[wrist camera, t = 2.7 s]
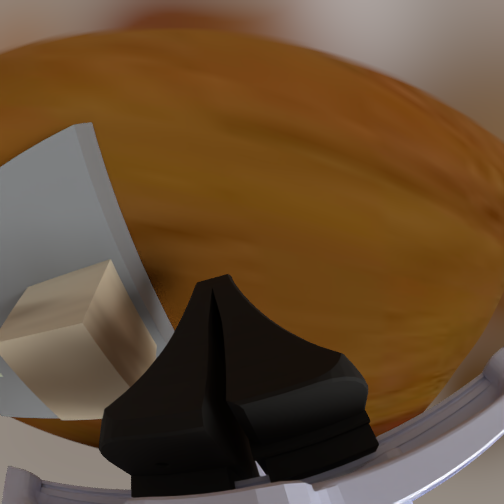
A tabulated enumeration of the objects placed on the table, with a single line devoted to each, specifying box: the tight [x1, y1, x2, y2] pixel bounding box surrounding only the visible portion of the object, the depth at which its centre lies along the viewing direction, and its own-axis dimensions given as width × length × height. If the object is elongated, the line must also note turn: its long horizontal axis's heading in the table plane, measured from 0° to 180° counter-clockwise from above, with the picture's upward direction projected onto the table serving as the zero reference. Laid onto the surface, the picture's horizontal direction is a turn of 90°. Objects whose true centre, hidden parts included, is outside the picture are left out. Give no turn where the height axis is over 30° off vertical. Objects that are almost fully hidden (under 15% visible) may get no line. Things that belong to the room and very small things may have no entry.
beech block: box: [0, 259, 157, 420], centre depth 10 cm, size 5×5×4 cm
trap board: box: [0, 122, 175, 418], centre depth 12 cm, size 16×20×2 cm
